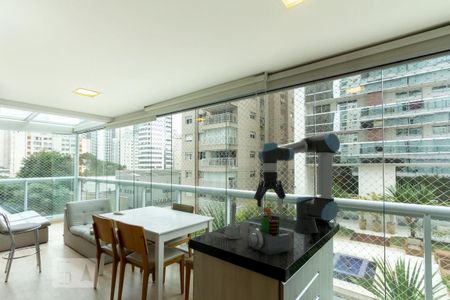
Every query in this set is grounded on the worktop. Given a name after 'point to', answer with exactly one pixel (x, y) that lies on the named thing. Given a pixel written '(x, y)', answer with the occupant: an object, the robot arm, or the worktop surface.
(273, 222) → the motor
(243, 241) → the worktop surface
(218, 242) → the worktop surface
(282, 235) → the flange bracket
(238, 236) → the engine component
